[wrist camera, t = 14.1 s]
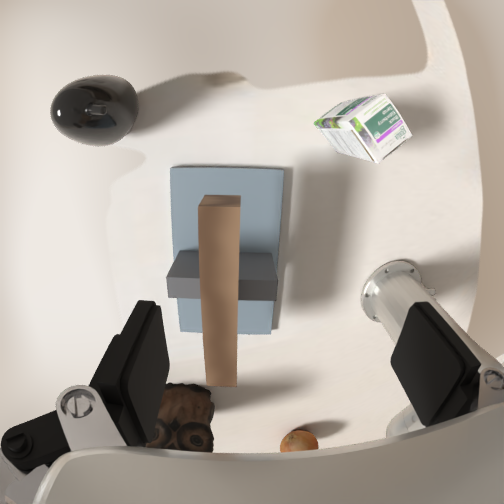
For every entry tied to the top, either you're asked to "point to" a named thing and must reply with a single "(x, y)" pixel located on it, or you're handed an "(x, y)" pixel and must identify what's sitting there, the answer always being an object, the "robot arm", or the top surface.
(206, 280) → the walnut bar
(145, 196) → the top surface
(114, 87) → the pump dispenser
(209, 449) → the owl
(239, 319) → the balance stand
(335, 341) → the top surface
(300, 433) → the onion
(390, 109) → the syrup box
